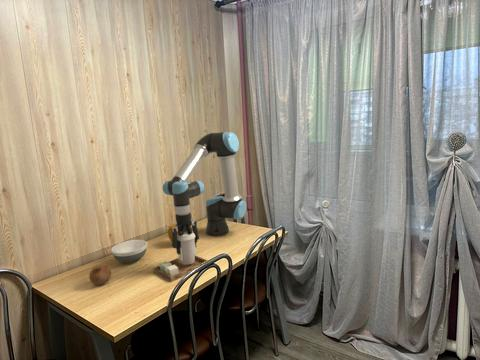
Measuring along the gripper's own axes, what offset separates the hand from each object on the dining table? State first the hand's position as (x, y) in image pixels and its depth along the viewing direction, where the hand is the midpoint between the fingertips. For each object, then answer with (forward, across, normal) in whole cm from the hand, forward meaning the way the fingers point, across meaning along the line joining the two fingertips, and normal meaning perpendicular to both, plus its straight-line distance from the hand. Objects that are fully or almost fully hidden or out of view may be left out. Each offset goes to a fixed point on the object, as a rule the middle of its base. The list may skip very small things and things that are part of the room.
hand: (187, 256), depth 157 cm
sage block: (+4, +11, -3) cm, 12 cm away
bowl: (+5, +15, -32) cm, 36 cm away
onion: (+5, +36, -19) cm, 41 cm away
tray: (+5, +4, 0) cm, 6 cm away
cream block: (+4, +11, +3) cm, 12 cm away
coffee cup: (+3, 0, 0) cm, 3 cm away
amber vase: (+5, -14, -29) cm, 33 cm away
